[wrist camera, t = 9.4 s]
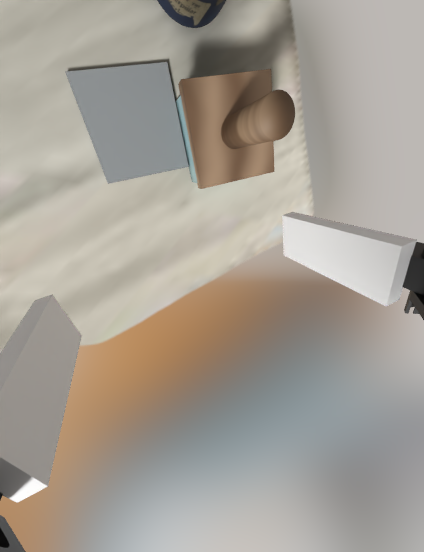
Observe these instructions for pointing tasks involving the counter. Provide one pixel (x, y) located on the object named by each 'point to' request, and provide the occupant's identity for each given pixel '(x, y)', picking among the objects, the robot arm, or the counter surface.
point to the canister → (192, 11)
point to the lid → (234, 124)
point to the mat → (131, 119)
